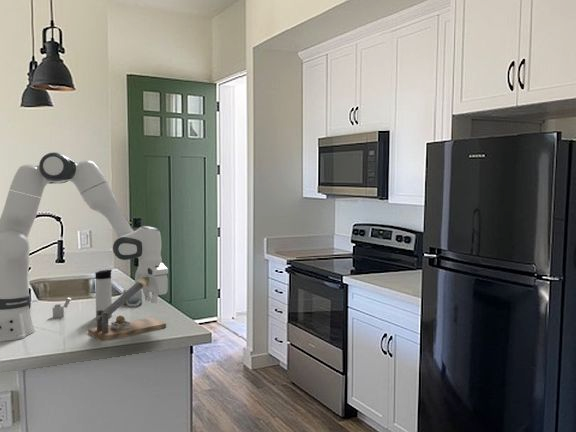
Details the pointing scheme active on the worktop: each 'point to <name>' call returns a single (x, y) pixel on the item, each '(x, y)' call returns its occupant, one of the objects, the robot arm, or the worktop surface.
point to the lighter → (60, 309)
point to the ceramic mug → (134, 298)
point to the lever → (125, 297)
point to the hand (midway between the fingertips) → (150, 301)
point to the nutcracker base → (129, 331)
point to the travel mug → (103, 290)
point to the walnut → (120, 319)
